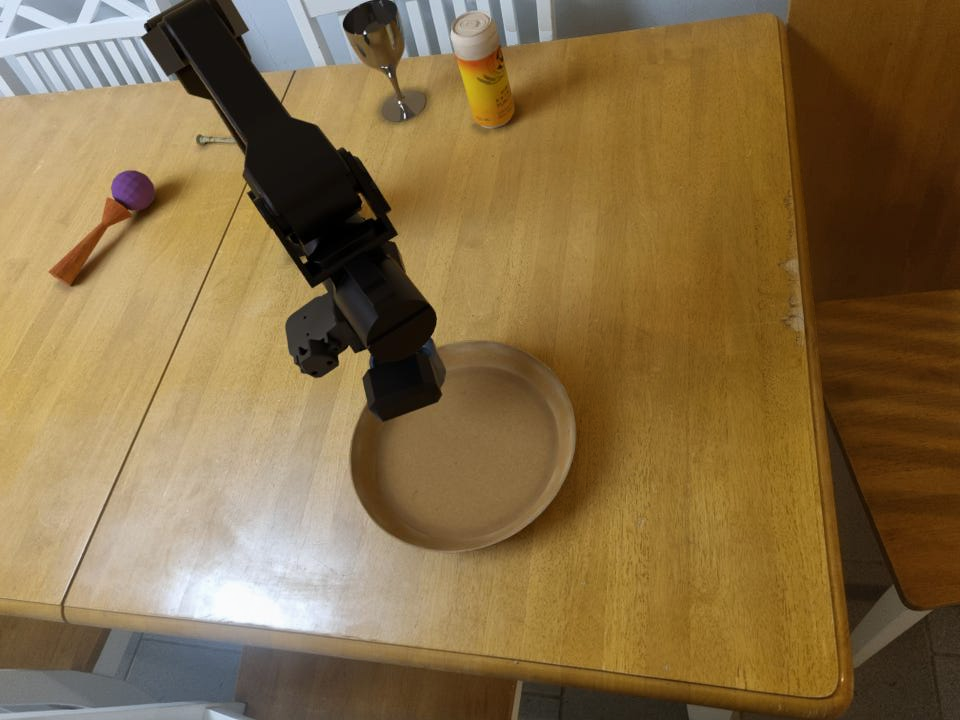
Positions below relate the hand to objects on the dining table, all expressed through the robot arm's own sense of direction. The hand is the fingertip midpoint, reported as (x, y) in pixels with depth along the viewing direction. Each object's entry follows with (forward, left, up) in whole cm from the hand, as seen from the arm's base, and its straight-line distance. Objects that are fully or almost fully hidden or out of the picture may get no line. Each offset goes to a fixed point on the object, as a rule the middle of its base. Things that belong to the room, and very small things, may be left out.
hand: (412, 371), depth 75 cm
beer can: (-44, +20, -9) cm, 49 cm away
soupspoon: (-57, -16, -9) cm, 60 cm away
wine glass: (-54, +8, -9) cm, 55 cm away
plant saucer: (+6, +2, -9) cm, 11 cm away
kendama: (-49, -40, -9) cm, 64 cm away
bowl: (0, 0, -2) cm, 2 cm away
